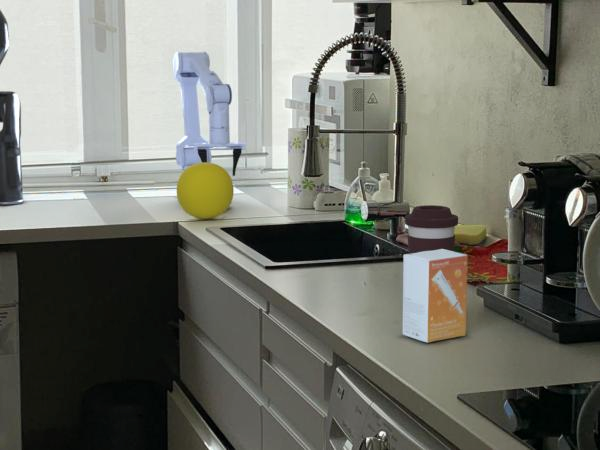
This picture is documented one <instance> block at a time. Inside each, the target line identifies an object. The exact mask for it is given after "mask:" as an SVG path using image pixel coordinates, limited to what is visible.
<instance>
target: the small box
mask: <svg viewBox="0 0 600 450" xmlns="http://www.w3.org/2000/svg"><path fill="white" fill-rule="evenodd" d="M468 256H469V255H468V254H467V253H466V254H465V253H462V252H457V251H454V252H453V251H449V250H445V249H439V250H433V251H423V252H418V253H412V254H409V253H406V254H403V255H402V257H403V258H402V259H403V260H402V261H403V262H402V267H403V268H402V335H403V336H405V337H409V338H411V339H415V340H417V341H420V342H423V343H426V344H428V343H433V342H437V341H443V340H448V339H453V338H459V337H464V336H466V333H467V302H468V300H467V299H468V266H469V265H468V263H469V262H468V259H469V257H468Z"/></svg>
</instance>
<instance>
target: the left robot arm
mask: <svg viewBox="0 0 600 450" xmlns="http://www.w3.org/2000/svg"><path fill="white" fill-rule="evenodd" d="M9 33H10V32H9V23H8V20H7V18H6V16H5V15H4V13H3V11H2V10H1V9H0V66H1V65H2V63H3V61H4V60H5V58H6V56H7V54H8V51H9V49H10V35H9ZM0 123H1V124H2V128H1V129H0V206H11V205H21V204H23V203H24V202H25V201H24V199H25V198H24V186H23V170H22V169H23V168H22V167H23V166H22V151H21V137H22V105H21V99H20V97H19V95H18V93H17V92H16V91H12V90H11V91H10V90H8V91H7V90H0Z"/></svg>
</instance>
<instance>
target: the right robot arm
mask: <svg viewBox="0 0 600 450" xmlns="http://www.w3.org/2000/svg"><path fill="white" fill-rule="evenodd" d="M210 65H211V59H210V55H209V54H208V52H207V51H191V52H190V51H188V52H187V51H186V52H185V51H183V52H181V51H176V52H175V54H174V56H173V60H172V66H173V67H172V68H173V76H174V80H175V81H176V82H178V83H179V86H180V95H181V107H182V108H181V109H182V119H183V131H184V132H183V134H184V137H183V138H182V139H180V140H179V141H178V142H177V143H176V147H175V148H176V150H175V151H176V152H175V161H176V165H177V167H178V168H179V169H180V170H181V173H182V172H183V171H184V170H185V169H186V168H188V167H189V166H191V165H194V164H197V163H203V162H207V163H212V151H232V177H235V176H236V171H237V166H238V163H239V161H240V157H241V155H242V151H246V142H231V141H230V139H231V138H230V135H231V133H230V105H231V103H232V101H233V91H232V87H231V85H230V84H229V83H223V81H222V80H221V78H220V77H219V76H218V74H217V73H216V72H215V71H214V70H211V69H210ZM198 84H199V87H201V89H202V91H203V92H204V98H205V103H206V110H207V112H208V137H209V141H208V140H207V139H205V138H204V137H203V136H201V125H200V124H201V123H200V110H199V99H198V98H199V97H198V86H197V85H198Z"/></svg>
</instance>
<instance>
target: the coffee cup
mask: <svg viewBox="0 0 600 450" xmlns="http://www.w3.org/2000/svg"><path fill="white" fill-rule="evenodd" d="M404 225H406V226H407V227H408V228H407V230H408V233H407V251H408V253H407V254H412V253H418V252H423V251H433V250H439V249H445V250H449V251H453V252H455V244H456V243H455V242H456V235H455V229H456V228H455V227H456V226H458V225H459V216H458V215H456V214H453V213H452V211H451V208H450V207H448V206H444V205H437V204H436V205H434V204H433V205H431V204H429V205H426V204H425V205H418V206H414V207H413V208H412V210H411V213H408V214H406V215H405V216H404Z"/></svg>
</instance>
